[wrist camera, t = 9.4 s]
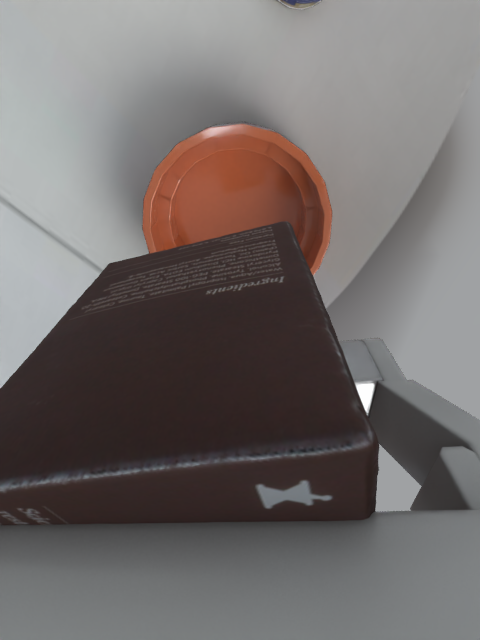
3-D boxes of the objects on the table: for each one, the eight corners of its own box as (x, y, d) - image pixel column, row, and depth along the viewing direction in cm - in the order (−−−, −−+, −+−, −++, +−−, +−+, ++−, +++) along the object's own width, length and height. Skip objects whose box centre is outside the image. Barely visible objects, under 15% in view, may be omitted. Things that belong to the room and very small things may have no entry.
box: (106, 257, 10) (-124, 498, 4) (292, 214, 9) (395, 438, 3) (173, 385, 13) (111, 619, 7) (312, 363, 12) (377, 609, 6)
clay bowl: (323, 112, 22) (340, 112, 18) (314, 281, 30) (324, 307, 26) (139, 133, 23) (116, 137, 19) (177, 291, 31) (167, 318, 27)
